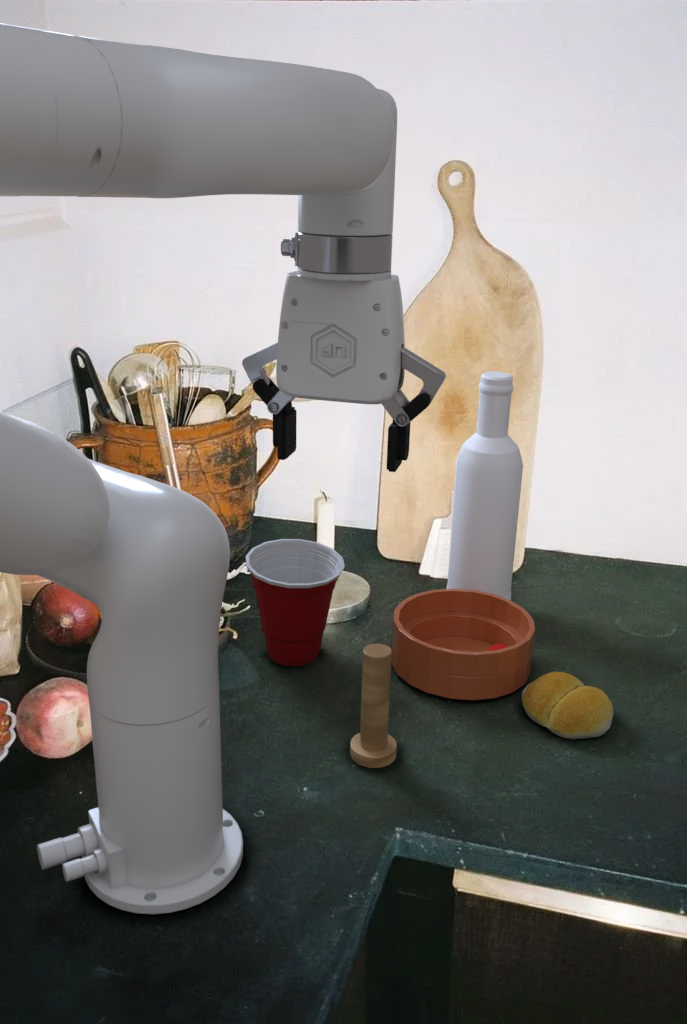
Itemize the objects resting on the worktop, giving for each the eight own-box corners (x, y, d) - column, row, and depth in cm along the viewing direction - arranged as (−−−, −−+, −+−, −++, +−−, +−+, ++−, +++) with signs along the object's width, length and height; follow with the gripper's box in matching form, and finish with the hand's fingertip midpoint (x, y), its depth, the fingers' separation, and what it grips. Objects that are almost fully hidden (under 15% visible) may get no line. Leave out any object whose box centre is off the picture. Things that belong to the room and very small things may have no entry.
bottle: (520, 621, 114) (545, 380, 104) (461, 630, 112) (481, 384, 101) (490, 593, 122) (511, 365, 111) (435, 601, 119) (450, 368, 108)
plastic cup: (286, 690, 99) (286, 588, 94) (227, 650, 106) (225, 554, 102) (362, 658, 105) (365, 560, 101) (301, 622, 113) (302, 530, 109)
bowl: (444, 719, 94) (447, 667, 92) (366, 652, 107) (367, 605, 104) (558, 682, 102) (564, 633, 99) (473, 623, 114) (476, 579, 112)
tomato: (485, 676, 102) (476, 651, 103) (505, 675, 103) (496, 650, 105) (502, 665, 99) (492, 639, 101) (522, 664, 101) (513, 638, 102)
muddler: (368, 774, 86) (372, 667, 82) (340, 749, 89) (343, 646, 85) (405, 758, 88) (411, 654, 84) (378, 735, 92) (382, 634, 88)
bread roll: (580, 753, 90) (585, 717, 88) (508, 712, 96) (511, 678, 94) (630, 722, 95) (635, 688, 93) (558, 685, 101) (562, 652, 99)
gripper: (225, 255, 73) (230, 463, 79) (444, 267, 69) (430, 486, 75) (258, 247, 80) (260, 439, 86) (459, 258, 76) (446, 459, 82)
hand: (339, 461), depth 81 cm, fingers open, 9 cm apart
